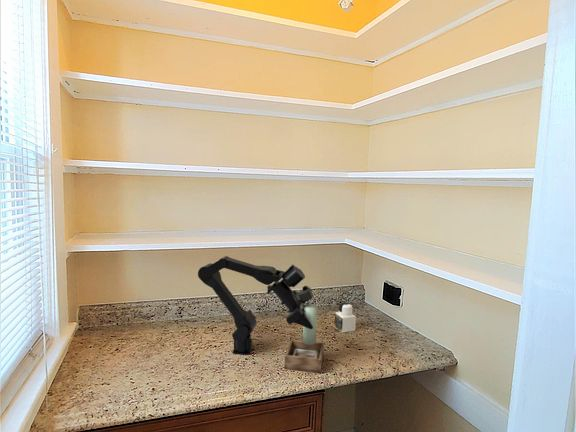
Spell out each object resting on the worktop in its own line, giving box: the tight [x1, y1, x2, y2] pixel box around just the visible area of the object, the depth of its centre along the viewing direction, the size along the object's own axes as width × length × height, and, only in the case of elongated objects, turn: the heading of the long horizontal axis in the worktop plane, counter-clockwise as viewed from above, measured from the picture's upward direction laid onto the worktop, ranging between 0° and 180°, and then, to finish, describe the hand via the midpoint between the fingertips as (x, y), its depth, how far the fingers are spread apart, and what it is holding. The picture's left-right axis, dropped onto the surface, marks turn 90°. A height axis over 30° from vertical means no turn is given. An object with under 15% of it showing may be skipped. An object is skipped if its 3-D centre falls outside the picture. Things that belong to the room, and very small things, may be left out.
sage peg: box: [302, 303, 318, 345], centre depth 132 cm, size 5×5×14 cm
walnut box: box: [284, 339, 325, 374], centre depth 131 cm, size 13×13×5 cm
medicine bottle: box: [334, 302, 357, 334], centre depth 161 cm, size 7×7×12 cm
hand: (313, 325), depth 132 cm, fingers closed on sage peg, 5 cm apart
